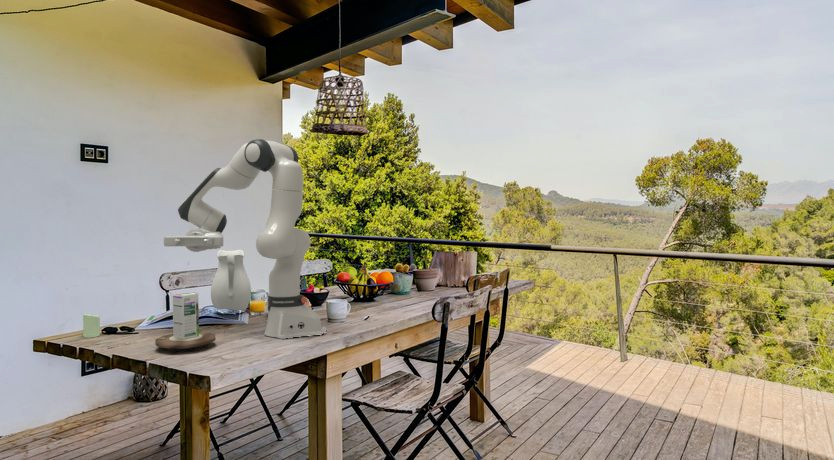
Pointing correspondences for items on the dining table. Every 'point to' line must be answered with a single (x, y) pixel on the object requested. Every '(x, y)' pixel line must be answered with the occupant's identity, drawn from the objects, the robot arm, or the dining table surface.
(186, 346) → the brown plate
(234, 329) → the dining table surface
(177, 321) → the syrup box
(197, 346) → the turntable base
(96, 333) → the candle
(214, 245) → the robot arm
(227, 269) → the pitcher
